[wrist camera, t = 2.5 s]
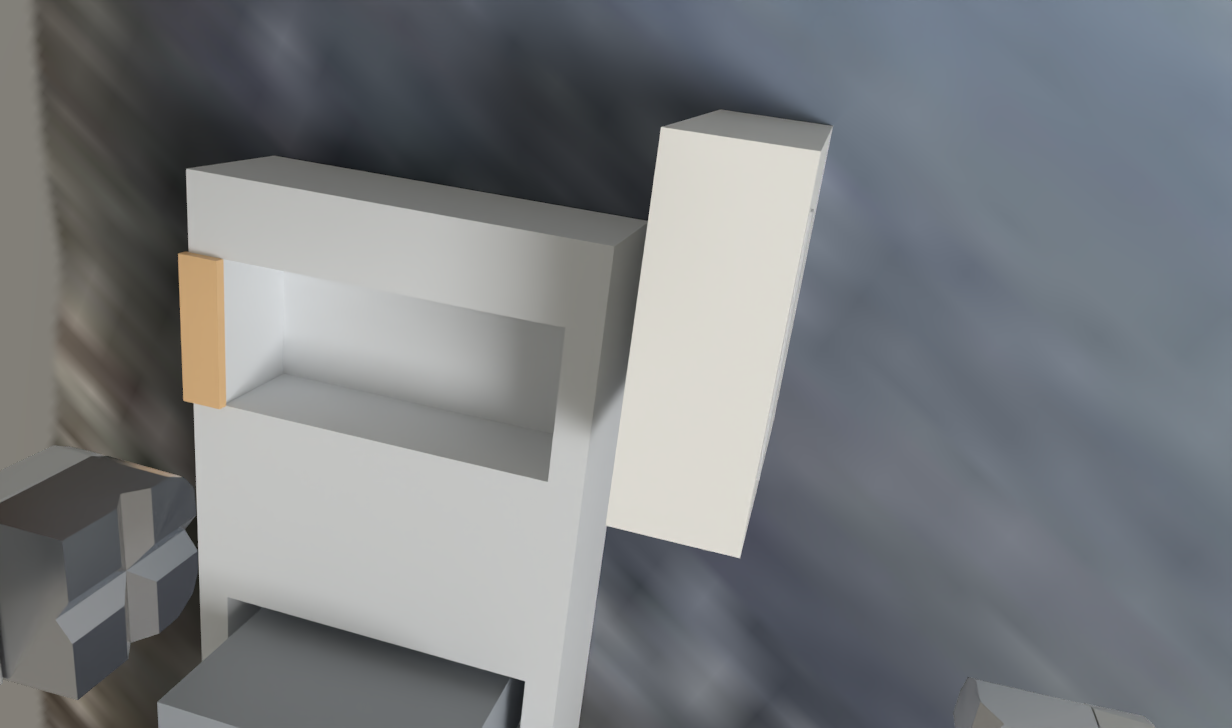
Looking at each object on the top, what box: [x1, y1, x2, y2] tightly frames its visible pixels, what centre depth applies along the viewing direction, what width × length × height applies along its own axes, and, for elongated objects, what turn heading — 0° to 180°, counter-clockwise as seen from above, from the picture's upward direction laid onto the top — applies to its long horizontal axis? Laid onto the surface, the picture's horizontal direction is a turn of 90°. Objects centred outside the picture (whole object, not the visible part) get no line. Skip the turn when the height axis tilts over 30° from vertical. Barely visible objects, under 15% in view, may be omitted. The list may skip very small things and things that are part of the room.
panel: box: [606, 109, 833, 558], centre depth 22 cm, size 9×3×8 cm, turn 173°
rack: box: [157, 156, 648, 728], centre depth 27 cm, size 12×20×8 cm, turn 173°
